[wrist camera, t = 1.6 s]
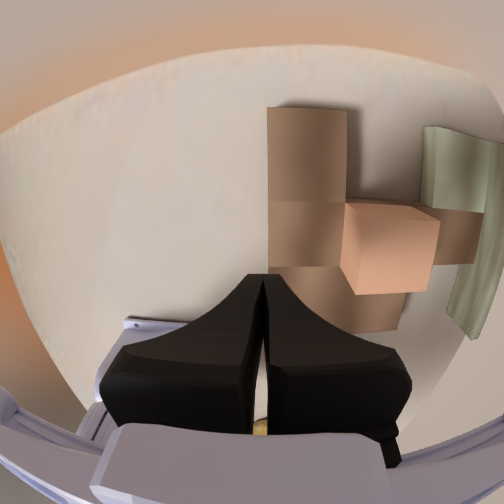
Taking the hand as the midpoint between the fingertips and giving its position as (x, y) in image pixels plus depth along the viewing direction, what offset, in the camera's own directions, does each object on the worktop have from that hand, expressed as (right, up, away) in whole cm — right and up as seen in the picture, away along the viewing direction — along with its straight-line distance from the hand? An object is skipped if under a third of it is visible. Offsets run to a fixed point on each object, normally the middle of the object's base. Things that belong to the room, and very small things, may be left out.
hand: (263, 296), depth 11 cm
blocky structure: (+10, +4, +9) cm, 14 cm away
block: (+8, +3, +7) cm, 11 cm away
